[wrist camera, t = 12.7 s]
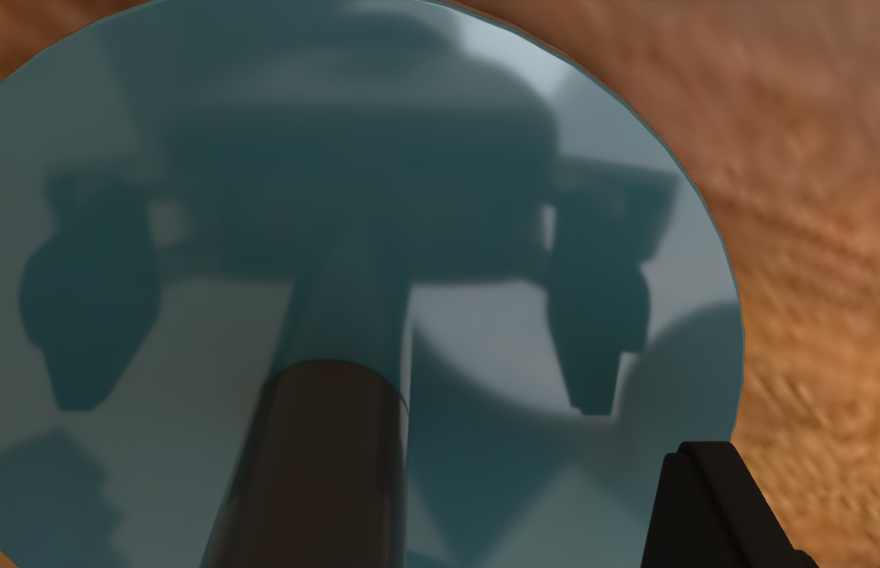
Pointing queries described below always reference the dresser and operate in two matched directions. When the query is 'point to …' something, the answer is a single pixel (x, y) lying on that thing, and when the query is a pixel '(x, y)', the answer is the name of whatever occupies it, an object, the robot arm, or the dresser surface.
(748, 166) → the dresser surface
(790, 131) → the dresser surface
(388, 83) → the lid
